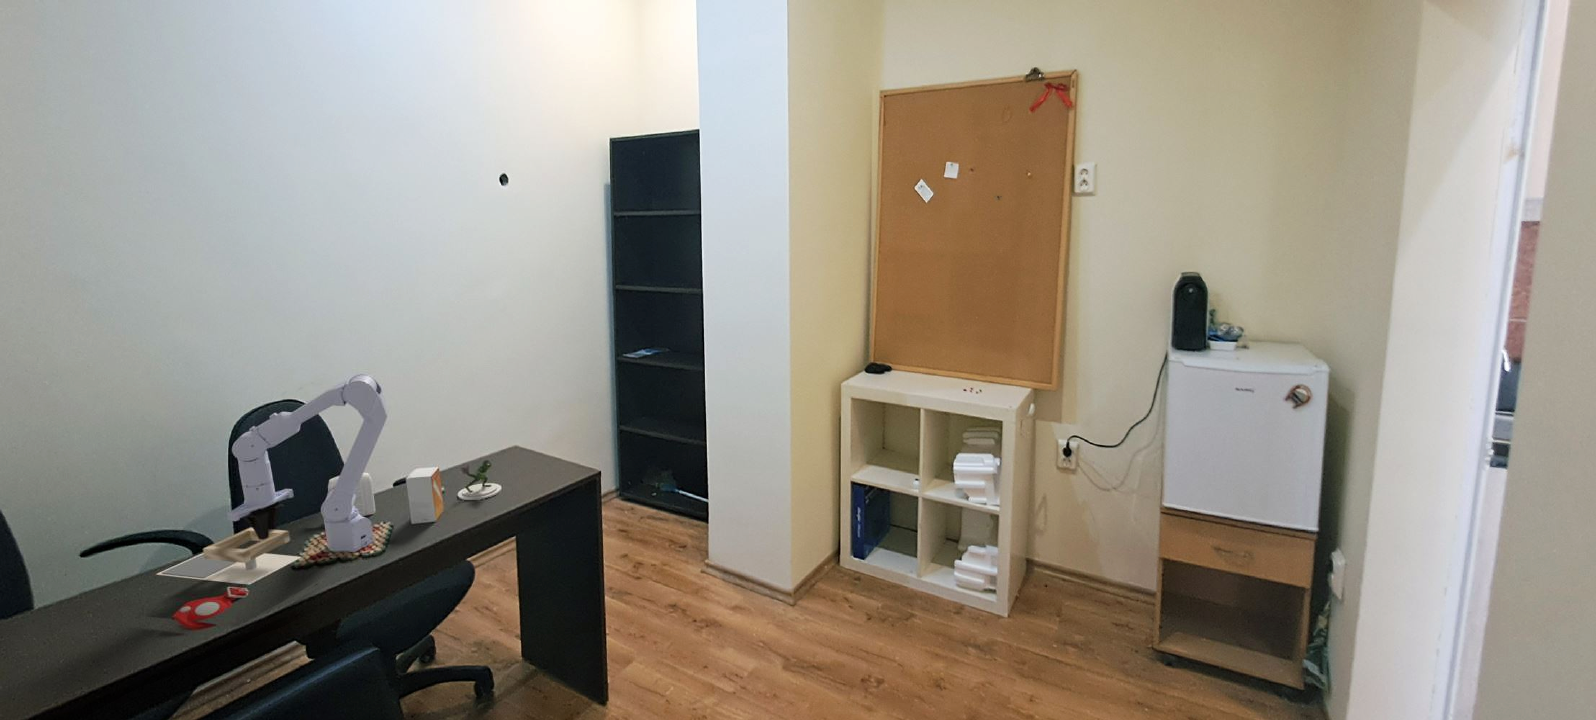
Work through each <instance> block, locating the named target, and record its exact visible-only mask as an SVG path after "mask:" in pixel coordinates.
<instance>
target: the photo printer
mask: <svg viewBox="0 0 1596 720" xmlns="http://www.w3.org/2000/svg"><path fill="white" fill-rule="evenodd" d="M339 477H340V475H338V476H335V477H333V478H330V479H329V480H328V485H327V489H328V490H327V493H328V492H329V491H330V489H332V488H333V487H334V486H335V485H336V483H337V481H338V479H339ZM356 494H357V498H356V501H355V502H354V505H353V506H355V507H356V508H357V509H358V511H359V514H360V515H361V516H362V517H365V516H370V515H374V514H376V502H375V496H374V485H373V480H372V478H371V476H370V474H369V473H368V472H363V475H362V477H361V479H360V482H359V484H358V486H357V489H356Z"/></svg>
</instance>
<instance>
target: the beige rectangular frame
mask: <svg viewBox="0 0 1596 720" xmlns="http://www.w3.org/2000/svg"><path fill="white" fill-rule="evenodd" d="M251 541H253V542H256V543H254V544H252V545H249V546H248V547H246V548H238V547H240V546H242V545H244V544H246V543H249V542H251ZM289 542H291V537H290V531H289V530H283V529H282V530H281V529H277V530H272V529H268V538H267V539H265V540H262V539H259V538H258V536H257V534H256V532H255V531H254V529H253V528H252V527H248V528H246V529H243V530H241V531H240V532H238V533H234V534H233V535H230V536H228V537H226V538H223V539H221V540H220V541H217V542H214V543H211V544H210V545H208V546H206V547H204V548H202V551H203V552H202V553H204V557H205V559H210V560H220V561H230V562H240V563H246V562H248V561H250V560H252V559H254V558H256V557H258V556H260V555H262V554H264V553H266V554H267V553H268V552H269V553H270V552H271V551H272V550H275V549H276V548H278V547H280V546H281V547H282V545H285V544H287V543H289Z"/></svg>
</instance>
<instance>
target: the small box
mask: <svg viewBox="0 0 1596 720" xmlns="http://www.w3.org/2000/svg"><path fill="white" fill-rule="evenodd" d="M440 472H441V471H440V466H433V467H419V468H415V469H414V470H413V471H411V473H409V475H408V476H406V478H405V483H406V489H407V490H406V491H407V497H408V505H409V513H410V521H411V524H412V525H413V524H414V525H415V524H422V523H423V524H425V523H432V522H433V523H434V522H437V521H438V519H439V517H440V516H441V515H442V513H444V510H445V509H444V507H445V506H444V500H443V491H442V490H443V489H442V482H441V481H442V480H441V473H440Z"/></svg>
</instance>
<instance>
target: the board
mask: <svg viewBox="0 0 1596 720" xmlns="http://www.w3.org/2000/svg"><path fill="white" fill-rule="evenodd" d="M301 558H302V556H295V555H285V554H277V553H276V554H275V553H267V552H266V553H264V554H262V555H260V556H258V557H256V558H254V559H252V560H250V561H248V562H246V563H240V562H230V561H220V560H210V559H205V557H204V552H202V553H201V554H198V555H195V556H193V557H191V558H189V559H187V560H184V561H182V562H181V563H178V564H176V565H174V566H171V567H169V568H166V569H165V570H162V571H160V572H158V573H156V574H155V575H156V576H157V575H158V576H166V577H176V578H184V579H193V580H194V579H195V580H204V581H214V582H220V583H221V582H223V583H231V584H239V585H252V584H253V583H256V582H258V581H259V580H261V579H263V578H265V577H267V576H269V575H271V574H273V573H274V572H276V571H278V570H280V569H282V568H284V567H286V566H288V565H289V564H292V563H294V562H295V561H297V560H299V559H301Z"/></svg>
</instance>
